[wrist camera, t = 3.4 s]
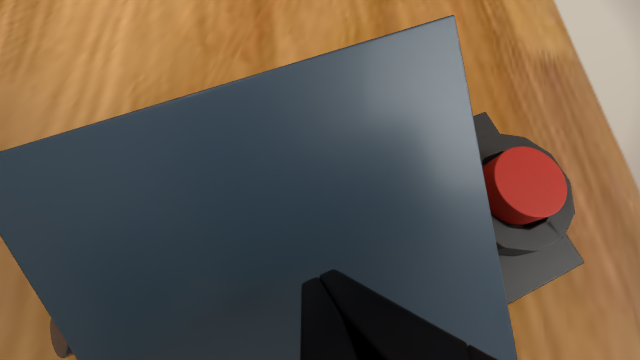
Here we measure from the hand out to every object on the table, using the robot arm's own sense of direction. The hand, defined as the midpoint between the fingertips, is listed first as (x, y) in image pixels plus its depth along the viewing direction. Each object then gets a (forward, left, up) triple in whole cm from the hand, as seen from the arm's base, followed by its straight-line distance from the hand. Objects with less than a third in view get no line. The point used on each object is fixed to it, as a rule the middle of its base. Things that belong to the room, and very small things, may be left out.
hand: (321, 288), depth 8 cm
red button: (0, -13, -9) cm, 16 cm away
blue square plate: (0, 0, -2) cm, 2 cm away
